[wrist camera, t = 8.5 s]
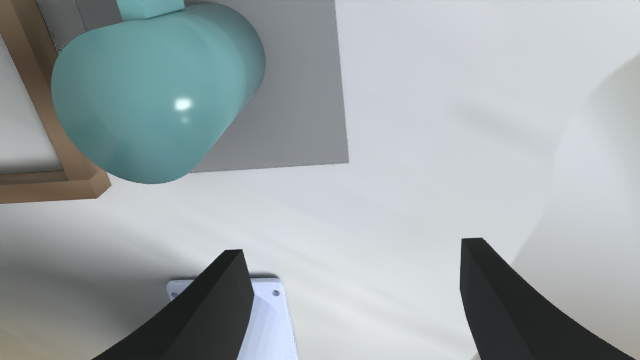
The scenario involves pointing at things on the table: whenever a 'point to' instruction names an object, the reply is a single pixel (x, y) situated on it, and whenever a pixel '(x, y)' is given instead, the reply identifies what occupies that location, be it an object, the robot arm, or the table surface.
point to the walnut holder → (43, 114)
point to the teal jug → (156, 86)
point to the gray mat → (276, 87)
